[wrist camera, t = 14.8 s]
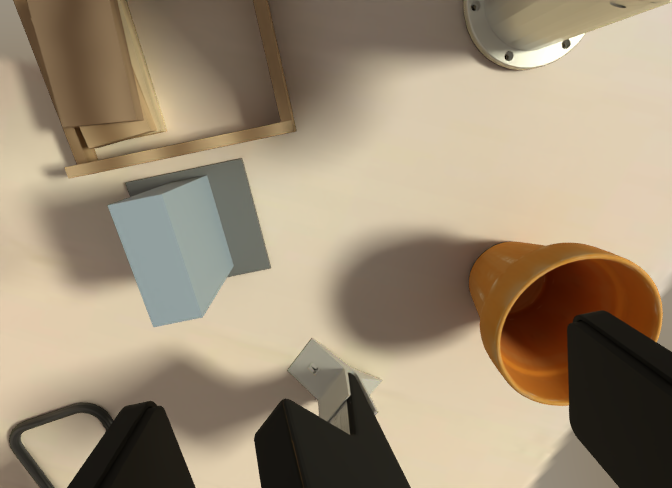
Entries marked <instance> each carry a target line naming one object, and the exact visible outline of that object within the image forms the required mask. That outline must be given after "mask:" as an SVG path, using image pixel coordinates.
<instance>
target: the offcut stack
mask: <svg viewBox="0 0 672 488" xmlns="http://www.w3.org/2000/svg"><path fill="white" fill-rule="evenodd" d="M27 3H28V7H29V10H30V14H31V17H32V18H31V20H32V23H33V25H34V28H35V32H36V35H37V39H38V42H39V46H40V49H41V53H42V56H43V60H44V63H45V67H46V70H47V74H48V77H49V81H50V85H51V88H52V92H53V95H54V99H55V102H56V106H57V109H58V113H59V116H60V120H61V123H62V127H80V130H81V132H82V134H83V136H84V138H85V141H86V143H87V145H88V147H89V149H91V148H99V147H103V146H106V145H110V144H113V143H117V142H120V141H124V140H128V139H132V138H137V137H142V136H147V135H151V134H156V133H161V132H166V131H167V129H166V126H165V123H164V120H163V116H162V113H161V110H160V107H159V104H158V101H157V97H156V94H155V91H154V88H153V85H152V81H151V78H150V75H149V72H148V69H147V65H146V62H145V59H144V56H143V53H142V50H141V46H140V43H139V40H138V37H137V34H136V30H135V27H134V24H133V21H132V18H131V14H130V11H129V8H128V5H127V2H126V0H27Z"/></svg>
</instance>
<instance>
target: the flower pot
mask: <svg viewBox="0 0 672 488" xmlns="http://www.w3.org/2000/svg"><path fill="white" fill-rule="evenodd" d="M469 289H470V293H471V296H472V299H473V301H474V304H475V307H476V309H477V312H478V314H479V316H480V333H481V338H482V342H483V345H484V347H485V350H486V352H487V353H488V355H489V357H490V359H491V360H492V362H493V363H494V365H495V366H496V368H497V369H498V371H499V372H500V373H501V375H502V376H503V377H504V379H505V380H506V381H507V382H508V384H509V385H510V386H511V387H512V388H513V389H514V390H516V391H517V392H518V393H520V394H521V395H523V396H524V397H526V398H529V399H531V400H533V401H536V402H539V403H542V404H548V405H557V406H567V405H569V385H568V349H567V327H568V324H570V323H573V319H574V317H575V316H576V315H580V314H585V313H590V312H595V311H600V310H604V311H607V312H609V313H610V314H612V315H614V316H615V317H617V318H618V319H620V320H622V321H623V322H625V323H626V324H628V325H630V326H631V327H633V328H634V329H636V330H637V331H639V332H641V333H642V334H644V335H645V336H647V337H649V338H650V339H652V340H653V341H655V342H657V340H658V338H659V335H660V330H661V325H662V314H663V313H662V302H661V298H660V295H659V292H658V289H657V287H656V285H655V283H654V282H653V280H652V279H651V278H650V276H649V275H648V274H647V273H646V272H645V271H644V270H643V269H642V268H641V267H639V266H638V265H636V264H635V263H633V262H631V261H629V260H628V259H625V258H623V257H620V256H618V255H615V254H613V253H610V252H607V251H605V250H602V249H599V248H596V247H593V246H589V245H585V244H579V243H558V244H552V245H548V246H544V245H537V244H529V243H522V242H504V243H500V244H497V245H495V246H493V247H491V248H489V249H488V250H486V251H485V252H484V253H483V254H481V256H480V257H479V258H478V259H477V260H476V262H475V263H474V265H473V267H472V270H471V272H470V276H469Z"/></svg>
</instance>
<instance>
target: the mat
mask: <svg viewBox="0 0 672 488" xmlns="http://www.w3.org/2000/svg"><path fill="white" fill-rule="evenodd" d="M205 175H207V177H208V180H209V183H210V187H211V190H212V194H213V197H214V200H215V204H216V207H217V211H218V214H219V217H220V221H221V224H222V228H223V231H224V234H225V238H226V241H227V245H228V248H229V252H230V255H231V258H232V262H233V265H234V266H233V268H232V270H231V271H230V273H229V275H228V276H227V277H231V276H236V275H240V274H245V273H250V272H255V271H260V270H265V269H270V268H271V266H270V262H269V258H268V254H267V251H266V247H265V243H264V239H263V235H262V232H261V228H260V224H259V220H258V217H257V213H256V209H255V205H254V201H253V198H252V194H251V190H250V186H249V182H248V179H247V175H246V171H245V167H244V164H243V160H242V159H237V160H232V161H227V162H222V163H217V164H213V165H208V166H203V167H198V168H193V169H189V170H184V171H179V172H174V173H169V174H165V175H160V176H155V177H150V178H145V179H141V180H136V181H131V182H126V186H127V189H128V192H129V195H130V197H132V196H135V195H137V194H140V193H143V192H146V191H148V190H151V189H154V188H157V187H159V186H162V185H165V184H168V183H172V182H176V181H181V180H186V179H191V178H196V177H201V176H205Z"/></svg>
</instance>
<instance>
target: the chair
mask: <svg viewBox="0 0 672 488" xmlns="http://www.w3.org/2000/svg"><path fill="white" fill-rule="evenodd" d="M76 413H88V414H91V415H93V416H95V417H97V418H98V419H99V420H100V421H101V422H102V424H103V426H104V427H105V429H106V430H108V428H109V427H110V425H111V424H112V423H113V419H112V418H111V416H110V415H109V414H108V413H107V412H106V411H105V410H104V409H102V408H101V407H99V406H97V405H94V404H90V403H79V404H74V405H71V406H69V407H66V408H63V409H60V410H57V411H54V412H51V413H48V414H45V415H42V416H39V417H36V418H33V419H30V420H27V421H24V422H22V423H20V424H18V425H17V426H16V427H15V428H14V429H13V430H12V432H11V434H10V438H9V443H10V447H11V449H12V451H13V452H14V454H15V455H16V456H17V458H18V459H19V460H20V462H21V463H22V464H23V466H24V467H25V468H26V470H27V471H28V472H29V474H30V475H31V476H32V478H33V479H34V480H35V482H36V483H37V484H38V486H39V487H40V488H54V486H53V485H52V484H51V482H50V481H49V480H48V478H47V477H46V476H45V474H44V473H43V471H42V470H41V469H40V467H39V466H38V465H37V463H36V462H35V461H34V459H33V458H32V457H31V455H30V454H29V453H28V451H27V450H26V449H25V447H24V446H23V444H22V442H21V434H22V433H23V432H24V431H26V430H29V429H32V428H35V427H37V426H40V425H43V424H46V423H49V422H52V421H55V420H58V419H61V418H64V417H67V416H70V415H73V414H76Z"/></svg>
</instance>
